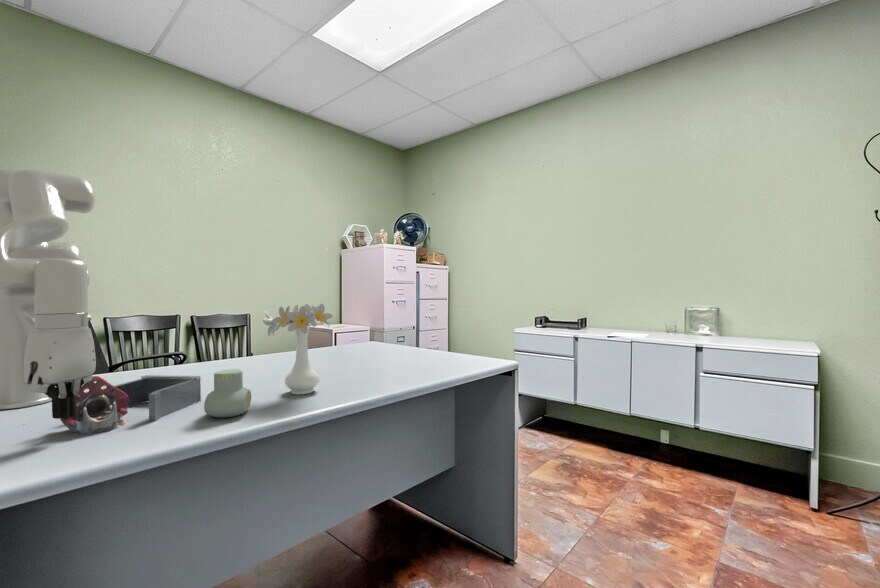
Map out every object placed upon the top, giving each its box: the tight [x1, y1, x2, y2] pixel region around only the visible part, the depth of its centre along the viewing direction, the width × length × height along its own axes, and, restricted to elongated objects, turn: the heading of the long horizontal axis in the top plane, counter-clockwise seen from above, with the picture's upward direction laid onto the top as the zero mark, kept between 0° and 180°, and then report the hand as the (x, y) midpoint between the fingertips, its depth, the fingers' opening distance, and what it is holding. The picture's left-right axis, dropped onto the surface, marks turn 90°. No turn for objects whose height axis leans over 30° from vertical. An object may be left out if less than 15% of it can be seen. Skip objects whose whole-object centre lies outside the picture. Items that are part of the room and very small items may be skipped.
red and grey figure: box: [60, 375, 129, 436], centre depth 85 cm, size 11×11×12 cm
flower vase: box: [262, 303, 334, 396], centre depth 112 cm, size 13×18×25 cm
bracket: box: [85, 374, 202, 422], centre depth 97 cm, size 17×16×7 cm
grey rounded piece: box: [203, 368, 252, 419], centre depth 93 cm, size 11×8×10 cm
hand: (64, 417), depth 77 cm, fingers closed
